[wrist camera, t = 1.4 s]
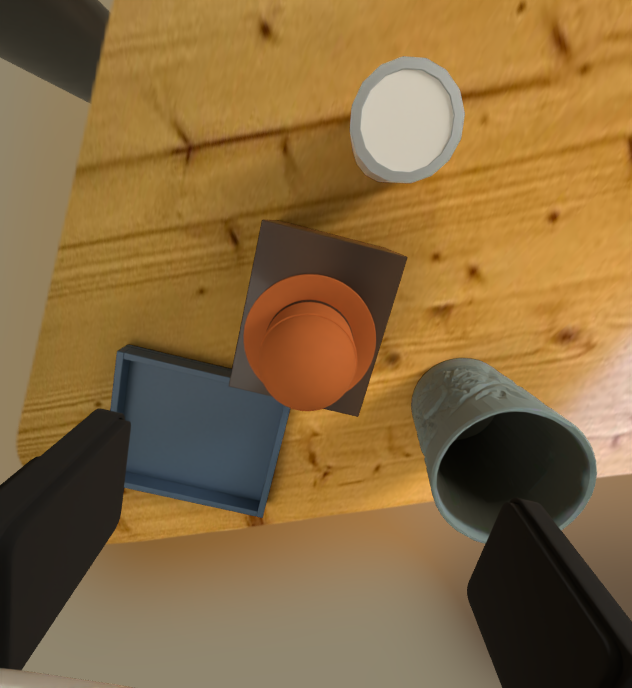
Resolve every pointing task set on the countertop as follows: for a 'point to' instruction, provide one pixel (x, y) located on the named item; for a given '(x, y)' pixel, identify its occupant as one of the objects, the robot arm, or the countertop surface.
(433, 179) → the countertop surface
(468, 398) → the grey-green cup
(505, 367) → the countertop surface
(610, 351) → the countertop surface
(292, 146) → the countertop surface
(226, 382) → the tray
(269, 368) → the hat
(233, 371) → the stand block
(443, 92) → the shot glass
